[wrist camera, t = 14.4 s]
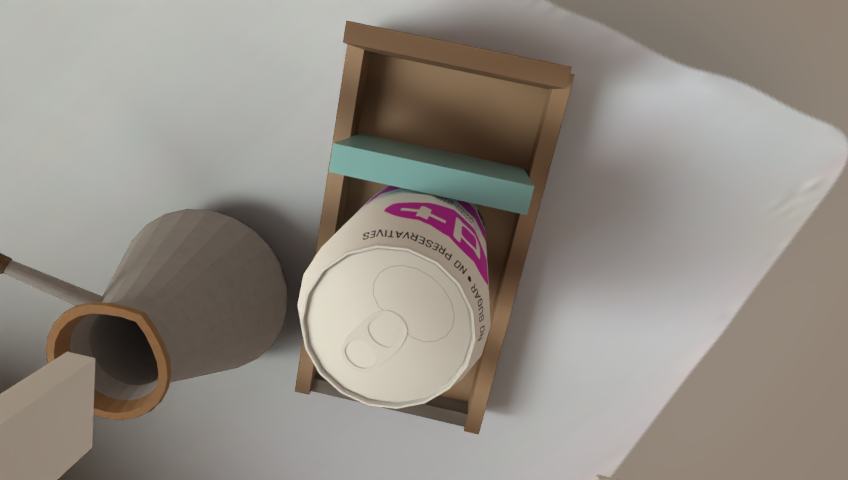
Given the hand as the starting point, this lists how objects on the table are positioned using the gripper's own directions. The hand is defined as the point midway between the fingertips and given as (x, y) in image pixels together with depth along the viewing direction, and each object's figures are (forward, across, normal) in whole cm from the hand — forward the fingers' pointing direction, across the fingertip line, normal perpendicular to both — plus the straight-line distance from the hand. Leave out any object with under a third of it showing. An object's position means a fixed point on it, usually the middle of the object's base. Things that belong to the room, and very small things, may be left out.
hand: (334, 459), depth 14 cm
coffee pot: (+24, -18, -4) cm, 30 cm away
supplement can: (+23, 0, 0) cm, 23 cm away
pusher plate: (+23, 0, +5) cm, 23 cm away
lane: (+24, 0, 0) cm, 24 cm away
